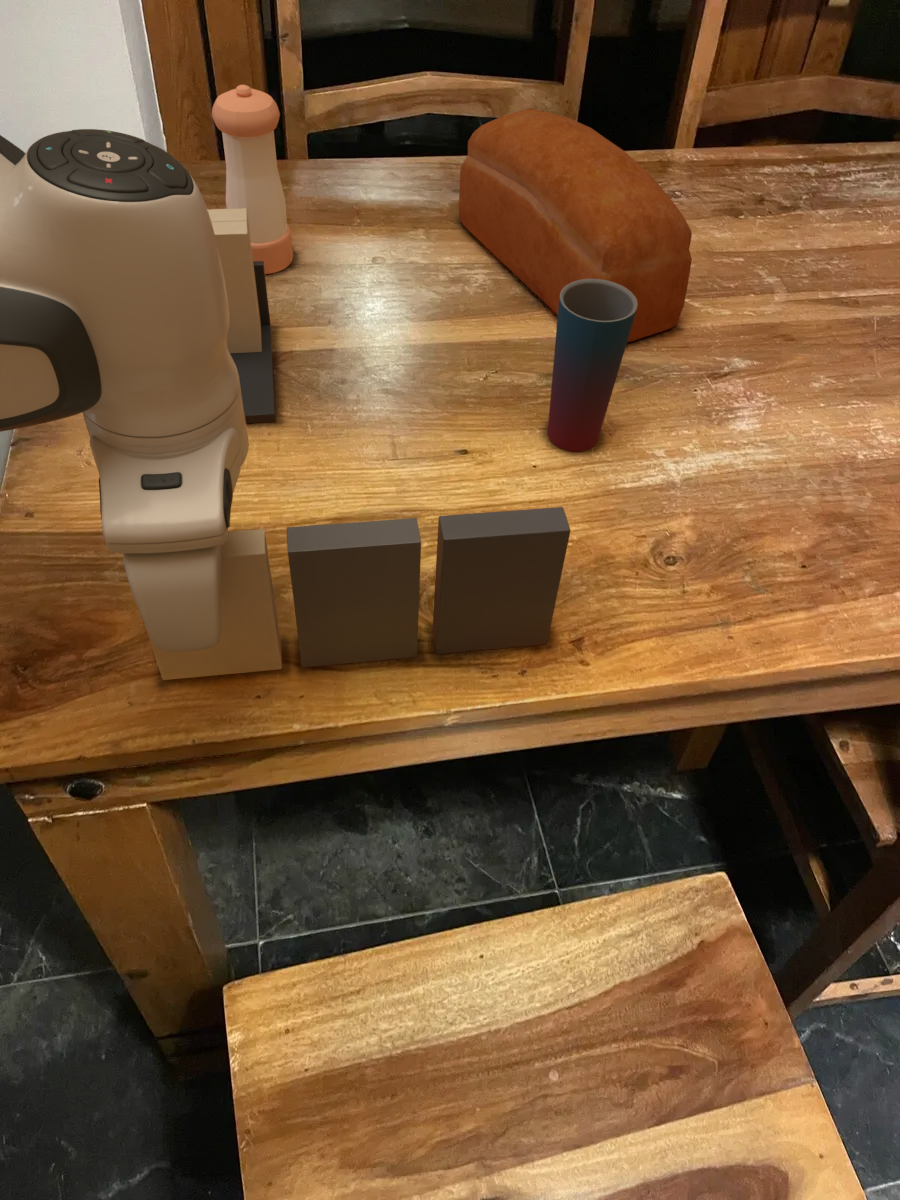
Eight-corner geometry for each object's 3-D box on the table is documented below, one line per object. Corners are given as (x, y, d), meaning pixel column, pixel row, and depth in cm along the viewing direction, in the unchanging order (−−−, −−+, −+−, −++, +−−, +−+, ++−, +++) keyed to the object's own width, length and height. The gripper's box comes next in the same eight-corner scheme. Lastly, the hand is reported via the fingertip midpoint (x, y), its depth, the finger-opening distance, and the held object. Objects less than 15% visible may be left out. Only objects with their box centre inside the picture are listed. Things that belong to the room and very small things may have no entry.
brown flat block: (162, 680, 71) (125, 564, 61) (163, 655, 72) (128, 538, 62) (282, 669, 72) (265, 553, 62) (281, 645, 74) (264, 528, 64)
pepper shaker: (230, 275, 108) (206, 101, 93) (230, 243, 113) (207, 72, 98) (294, 273, 109) (279, 100, 94) (291, 241, 114) (277, 71, 99)
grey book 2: (436, 654, 74) (443, 539, 64) (432, 631, 75) (438, 515, 65) (547, 644, 75) (571, 530, 65) (540, 621, 76) (563, 506, 67)
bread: (538, 197, 124) (553, 71, 112) (690, 325, 106) (728, 190, 94) (446, 217, 119) (453, 88, 107) (590, 355, 101) (616, 217, 89)
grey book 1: (301, 667, 72) (287, 552, 62) (300, 643, 74) (286, 526, 64) (417, 657, 73) (421, 542, 64) (413, 633, 75) (416, 517, 65)
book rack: (159, 428, 90) (129, 298, 79) (167, 333, 100) (140, 206, 89) (275, 421, 91) (260, 293, 81) (271, 328, 101) (257, 203, 91)
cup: (541, 409, 95) (561, 274, 83) (608, 418, 94) (638, 283, 83) (535, 453, 90) (557, 316, 79) (606, 462, 90) (637, 326, 78)
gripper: (126, 330, 61) (164, 487, 71) (98, 557, 48) (150, 708, 58) (224, 325, 62) (248, 481, 72) (223, 547, 49) (253, 698, 59)
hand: (204, 584), depth 65 cm, fingers closed on brown flat block, 2 cm apart
